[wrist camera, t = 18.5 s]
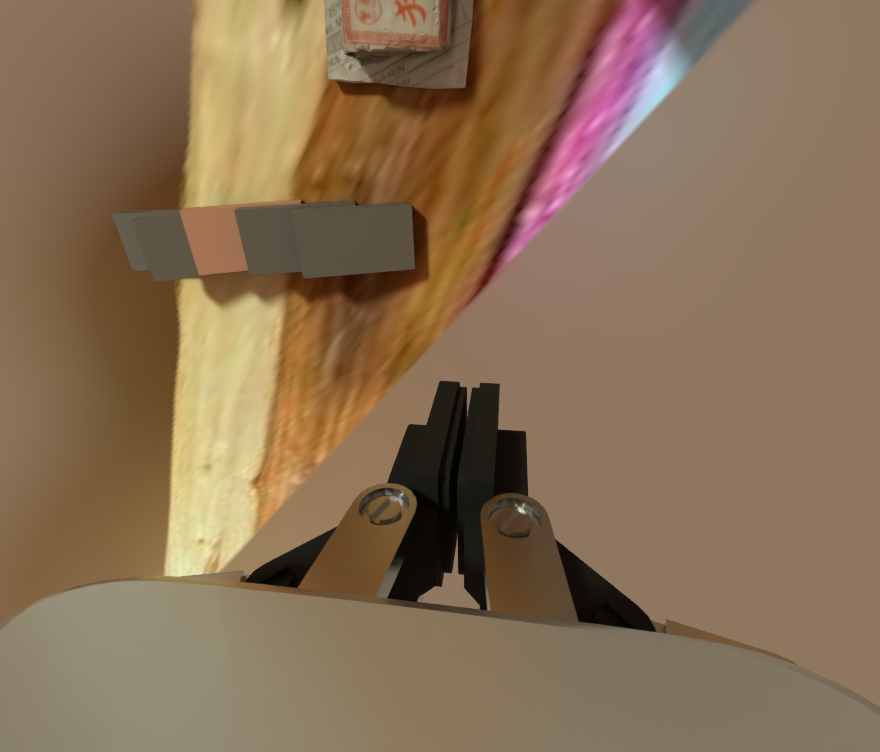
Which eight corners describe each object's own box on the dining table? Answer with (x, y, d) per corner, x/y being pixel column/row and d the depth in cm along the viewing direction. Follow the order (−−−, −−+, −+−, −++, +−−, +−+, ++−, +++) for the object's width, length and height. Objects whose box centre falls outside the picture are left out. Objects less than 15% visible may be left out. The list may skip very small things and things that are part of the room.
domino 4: (355, 203, 35) (234, 210, 34) (362, 266, 38) (249, 276, 36) (354, 200, 37) (237, 207, 35) (360, 261, 39) (252, 270, 37)
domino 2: (247, 207, 37) (129, 220, 35) (263, 268, 39) (154, 281, 38) (250, 205, 38) (137, 217, 37) (266, 263, 40) (160, 276, 39)
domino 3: (300, 202, 36) (179, 211, 34) (311, 264, 38) (199, 275, 37) (301, 199, 37) (184, 208, 36) (312, 259, 40) (203, 270, 38)
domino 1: (205, 211, 38) (111, 213, 39) (222, 270, 40) (132, 270, 41) (216, 208, 39) (125, 210, 40) (232, 265, 41) (145, 266, 43)
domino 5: (411, 205, 35) (291, 212, 33) (415, 269, 37) (303, 278, 35) (408, 202, 36) (292, 209, 34) (411, 264, 38) (304, 273, 37)
